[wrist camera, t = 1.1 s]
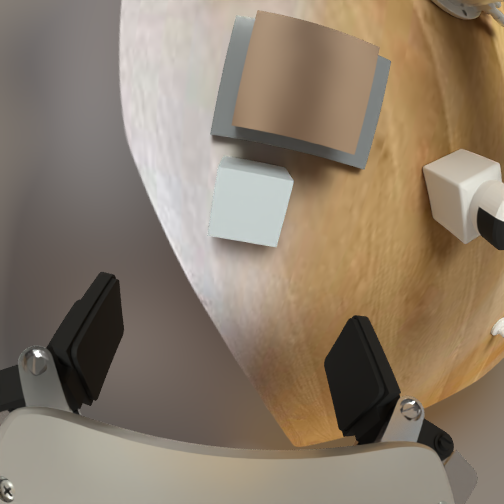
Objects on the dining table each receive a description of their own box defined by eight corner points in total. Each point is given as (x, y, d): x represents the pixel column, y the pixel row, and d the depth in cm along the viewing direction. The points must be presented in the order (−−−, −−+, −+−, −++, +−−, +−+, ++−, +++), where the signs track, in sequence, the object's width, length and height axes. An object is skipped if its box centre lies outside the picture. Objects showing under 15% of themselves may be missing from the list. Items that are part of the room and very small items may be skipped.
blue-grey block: (285, 167, 26) (293, 181, 21) (271, 222, 29) (276, 247, 24) (224, 155, 25) (218, 167, 20) (214, 212, 28) (207, 235, 23)
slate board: (385, 62, 20) (391, 61, 19) (359, 167, 26) (364, 169, 25) (236, 19, 18) (236, 15, 17) (212, 133, 24) (210, 134, 23)
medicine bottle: (469, 197, 27) (530, 240, 16) (432, 218, 28) (492, 271, 18) (461, 147, 24) (533, 178, 13) (420, 166, 25) (493, 205, 15)
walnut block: (351, 58, 19) (379, 47, 14) (331, 143, 23) (354, 154, 18) (255, 32, 18) (257, 10, 13) (235, 121, 22) (231, 125, 17)
